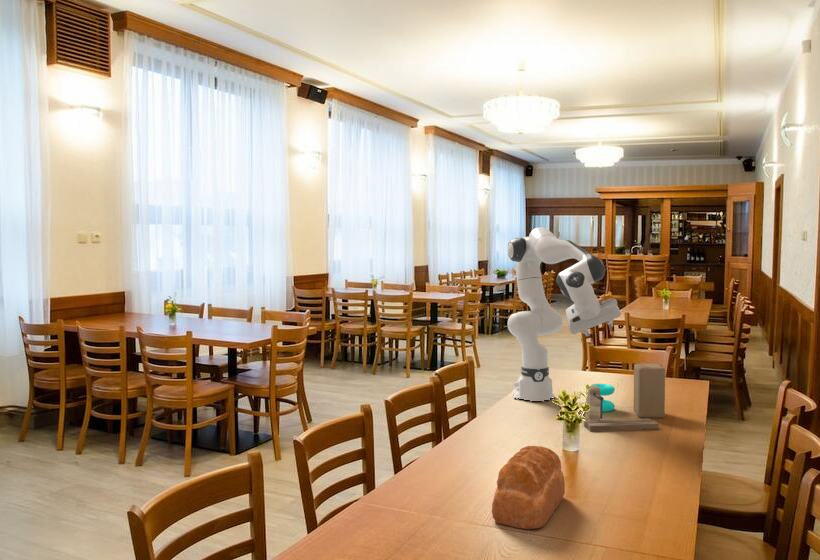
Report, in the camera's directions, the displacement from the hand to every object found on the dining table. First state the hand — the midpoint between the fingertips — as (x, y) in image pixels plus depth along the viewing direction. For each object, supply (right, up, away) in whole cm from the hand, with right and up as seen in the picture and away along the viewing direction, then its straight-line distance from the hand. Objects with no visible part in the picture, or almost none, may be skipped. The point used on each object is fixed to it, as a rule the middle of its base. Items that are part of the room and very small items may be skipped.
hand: (599, 330), depth 262 cm
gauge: (-3, -35, -8) cm, 36 cm away
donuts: (+5, -34, +16) cm, 38 cm away
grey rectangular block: (+21, -34, +6) cm, 41 cm away
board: (+5, -35, -11) cm, 37 cm away
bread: (-42, -41, -85) cm, 104 cm away
